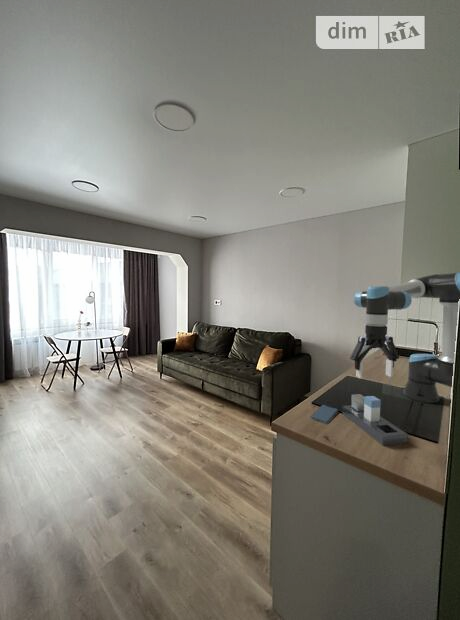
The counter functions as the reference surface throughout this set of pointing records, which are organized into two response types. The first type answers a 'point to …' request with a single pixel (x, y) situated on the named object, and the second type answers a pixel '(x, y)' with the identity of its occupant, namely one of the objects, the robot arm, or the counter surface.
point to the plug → (372, 408)
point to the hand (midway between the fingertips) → (374, 376)
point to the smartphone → (324, 414)
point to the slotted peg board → (373, 423)
